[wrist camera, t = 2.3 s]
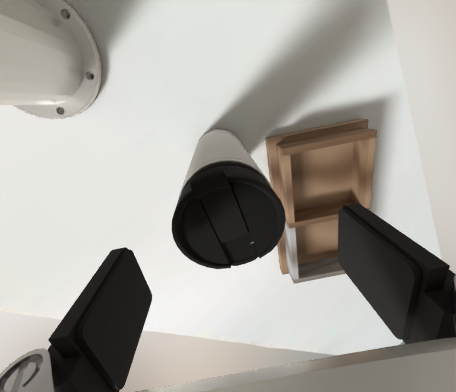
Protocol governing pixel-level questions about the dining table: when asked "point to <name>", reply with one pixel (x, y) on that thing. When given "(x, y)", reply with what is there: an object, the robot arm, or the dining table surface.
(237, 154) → the travel mug
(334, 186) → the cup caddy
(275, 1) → the dining table surface
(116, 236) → the dining table surface
